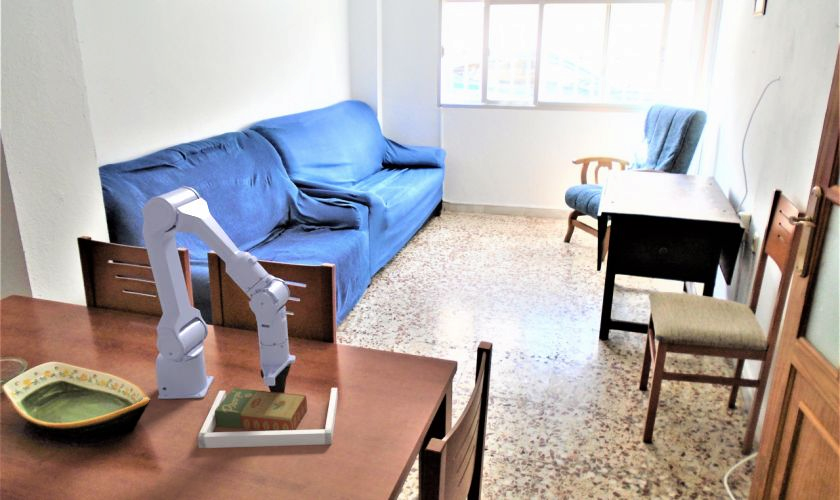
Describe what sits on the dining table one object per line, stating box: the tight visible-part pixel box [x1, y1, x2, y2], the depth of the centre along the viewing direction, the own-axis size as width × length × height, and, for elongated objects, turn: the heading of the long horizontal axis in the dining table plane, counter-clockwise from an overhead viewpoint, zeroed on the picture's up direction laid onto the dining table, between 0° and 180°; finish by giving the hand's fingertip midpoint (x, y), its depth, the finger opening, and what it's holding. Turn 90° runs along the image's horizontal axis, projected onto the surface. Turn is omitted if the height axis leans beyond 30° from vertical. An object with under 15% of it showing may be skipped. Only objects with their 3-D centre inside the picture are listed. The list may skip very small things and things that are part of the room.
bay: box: [197, 387, 339, 449], centre depth 116 cm, size 24×15×2 cm, turn 93°
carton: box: [215, 387, 308, 431], centre depth 117 cm, size 8×16×4 cm, turn 80°
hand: (278, 396), depth 122 cm, fingers closed
